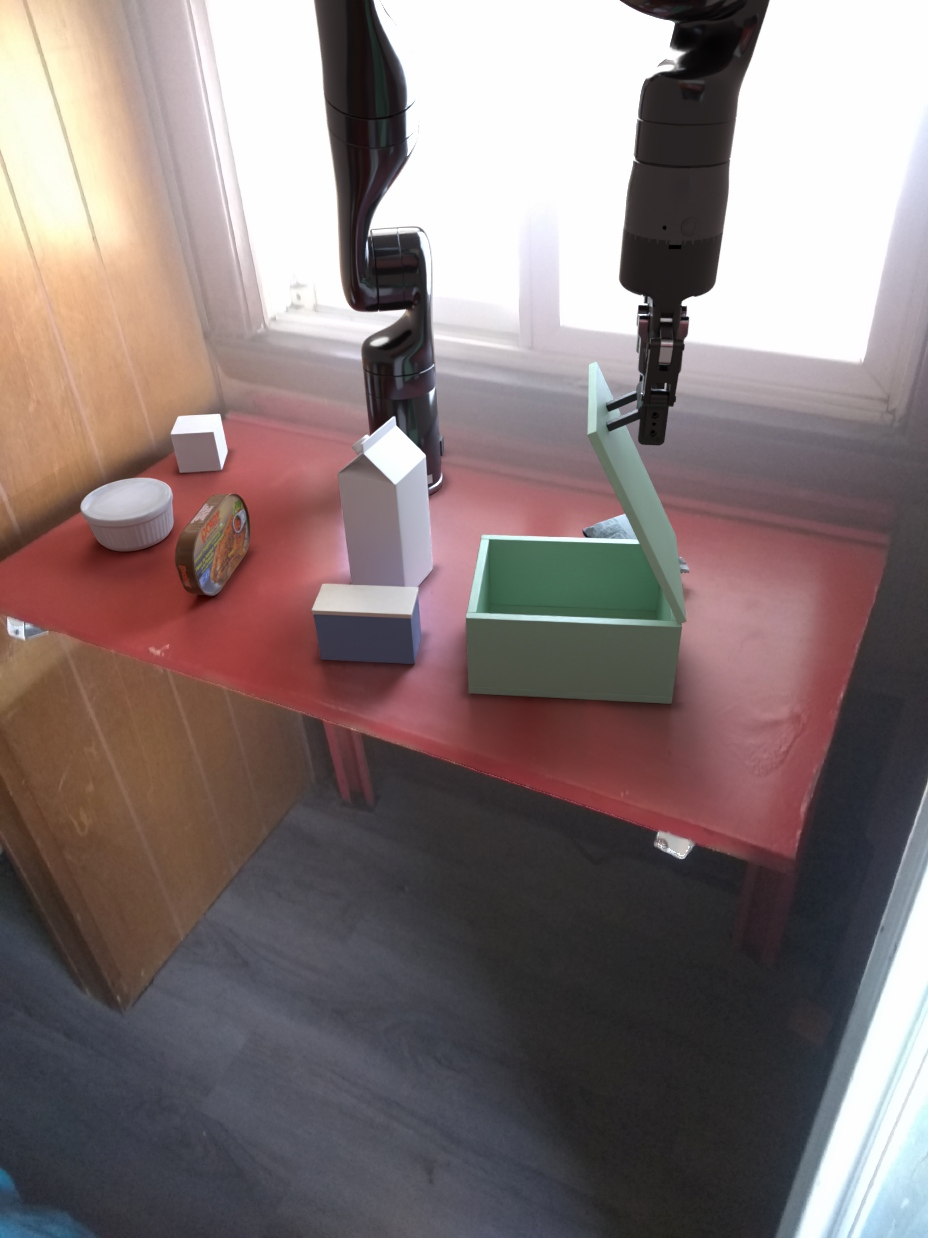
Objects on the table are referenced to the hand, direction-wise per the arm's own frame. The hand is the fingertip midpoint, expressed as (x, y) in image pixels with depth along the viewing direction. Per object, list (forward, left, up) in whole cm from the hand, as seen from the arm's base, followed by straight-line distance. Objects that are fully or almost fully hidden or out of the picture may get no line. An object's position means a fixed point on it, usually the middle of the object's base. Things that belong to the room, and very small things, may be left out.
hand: (649, 427), depth 80 cm
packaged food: (-17, +1, -26) cm, 31 cm away
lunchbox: (0, -6, -25) cm, 26 cm away
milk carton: (-12, -27, -26) cm, 39 cm away
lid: (0, -1, -6) cm, 7 cm away
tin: (-12, -48, -26) cm, 56 cm away
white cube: (-40, -60, -26) cm, 77 cm away
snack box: (+1, -27, -25) cm, 37 cm away
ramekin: (-20, -62, -26) cm, 70 cm away
